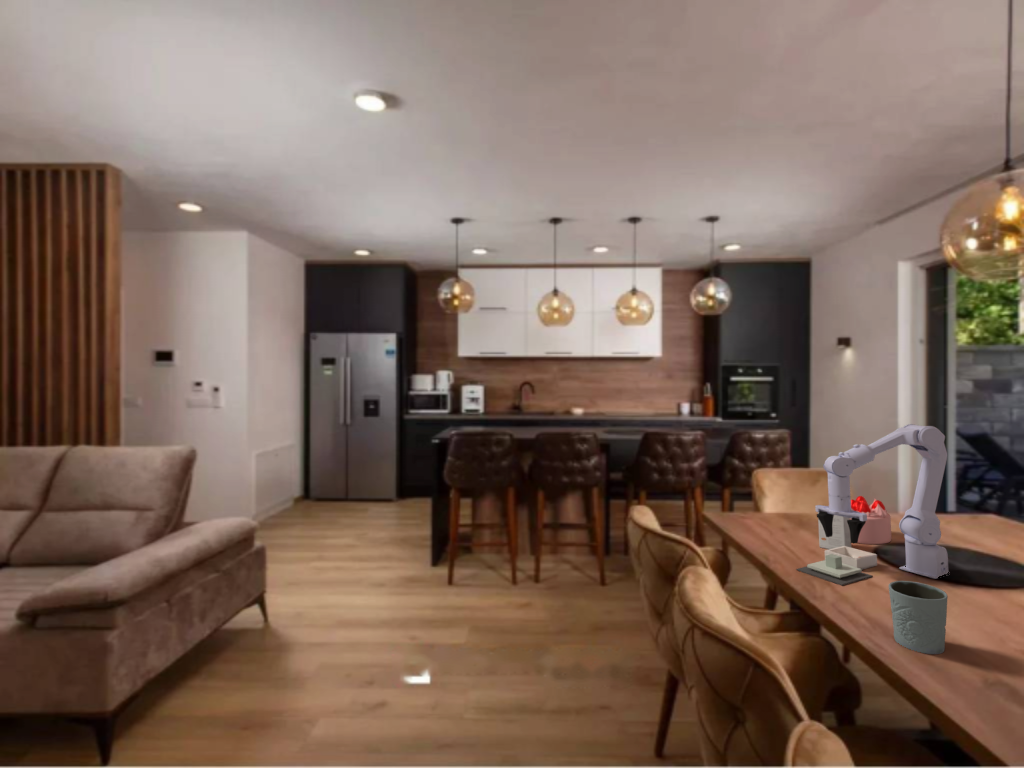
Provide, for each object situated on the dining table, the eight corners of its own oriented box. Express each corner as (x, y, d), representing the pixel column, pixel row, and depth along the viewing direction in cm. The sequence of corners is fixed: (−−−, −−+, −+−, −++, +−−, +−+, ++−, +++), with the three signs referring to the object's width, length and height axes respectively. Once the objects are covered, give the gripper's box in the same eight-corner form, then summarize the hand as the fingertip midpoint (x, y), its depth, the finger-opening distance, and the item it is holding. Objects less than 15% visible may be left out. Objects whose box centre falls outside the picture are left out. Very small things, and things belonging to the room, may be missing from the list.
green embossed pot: (922, 632, 114) (920, 579, 114) (963, 655, 104) (961, 597, 104) (879, 634, 114) (876, 581, 114) (916, 658, 104) (914, 600, 104)
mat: (872, 576, 147) (872, 575, 147) (842, 585, 142) (842, 584, 142) (826, 562, 160) (825, 561, 160) (796, 570, 154) (796, 568, 154)
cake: (850, 527, 199) (849, 491, 199) (905, 540, 180) (903, 501, 181) (815, 533, 192) (814, 496, 192) (868, 548, 173) (867, 507, 174)
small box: (851, 548, 173) (850, 511, 174) (845, 552, 169) (843, 514, 170) (825, 543, 180) (824, 507, 180) (818, 547, 176) (817, 510, 176)
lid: (861, 574, 148) (861, 558, 149) (840, 580, 144) (839, 563, 144) (828, 564, 158) (828, 549, 158) (807, 569, 154) (806, 554, 154)
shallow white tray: (877, 565, 156) (876, 554, 157) (857, 571, 152) (856, 559, 152) (844, 556, 166) (844, 545, 166) (824, 561, 161) (824, 550, 162)
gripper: (808, 493, 159) (810, 535, 159) (855, 501, 146) (858, 547, 146) (822, 490, 162) (824, 532, 162) (870, 498, 149) (872, 544, 149)
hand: (841, 539), depth 154 cm, fingers open, 7 cm apart
